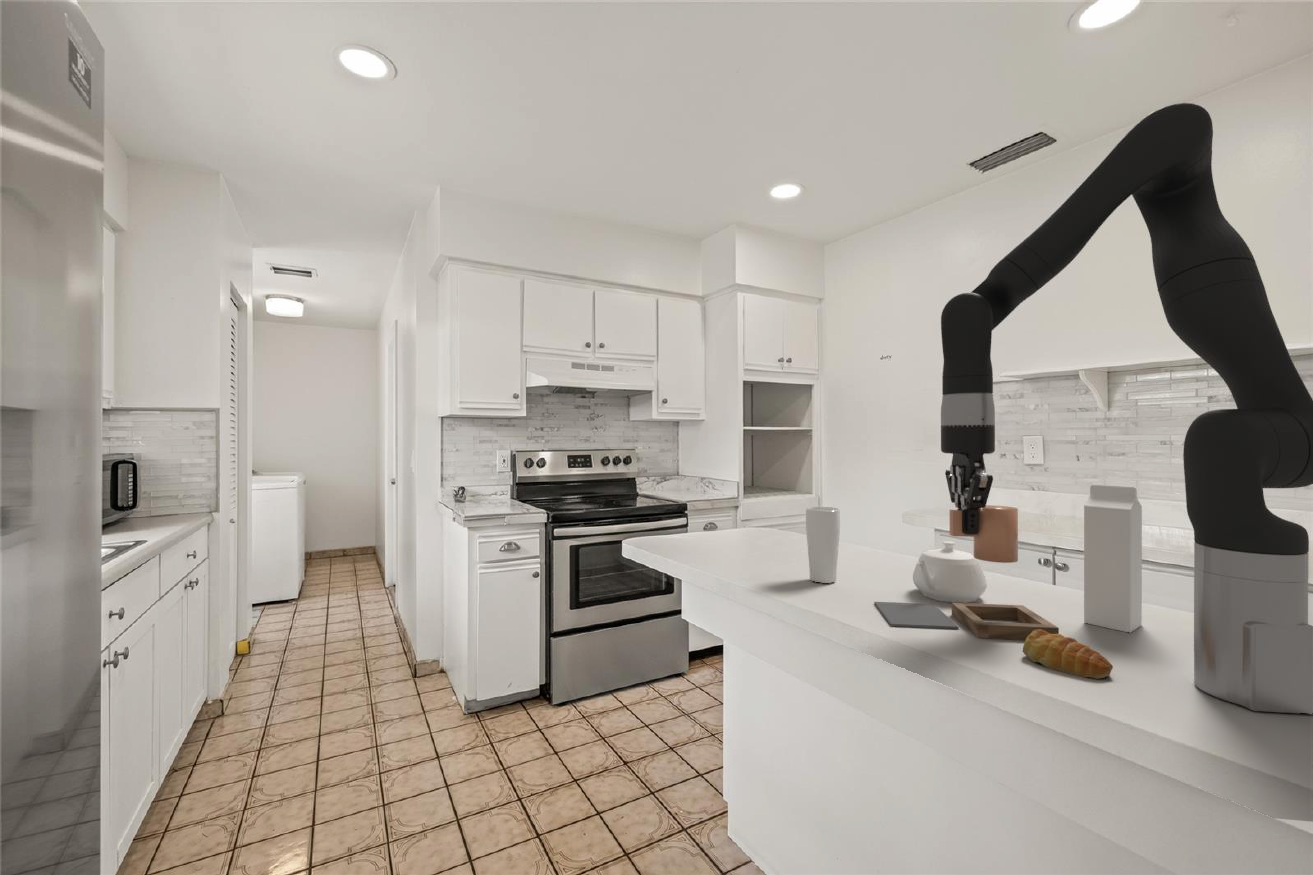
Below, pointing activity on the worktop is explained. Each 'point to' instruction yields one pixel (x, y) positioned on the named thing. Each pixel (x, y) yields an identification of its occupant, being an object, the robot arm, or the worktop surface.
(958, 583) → the teapot
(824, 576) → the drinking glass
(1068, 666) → the pastry
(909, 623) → the mat
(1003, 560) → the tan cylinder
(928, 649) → the worktop surface
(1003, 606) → the wooden tray
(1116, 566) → the milk
